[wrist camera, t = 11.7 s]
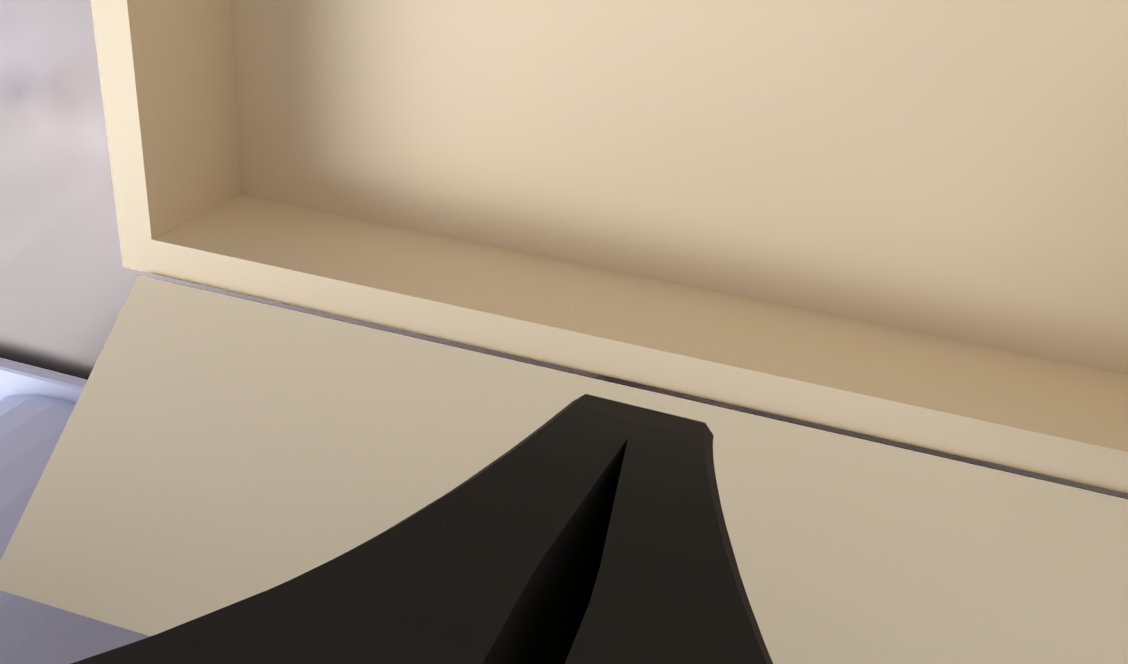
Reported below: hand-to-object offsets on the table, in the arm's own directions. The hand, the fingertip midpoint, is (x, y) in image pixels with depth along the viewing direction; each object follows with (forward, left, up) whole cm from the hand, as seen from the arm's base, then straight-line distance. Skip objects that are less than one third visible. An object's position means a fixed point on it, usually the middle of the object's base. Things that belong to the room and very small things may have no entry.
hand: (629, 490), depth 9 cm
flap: (-3, 0, -2) cm, 3 cm away
